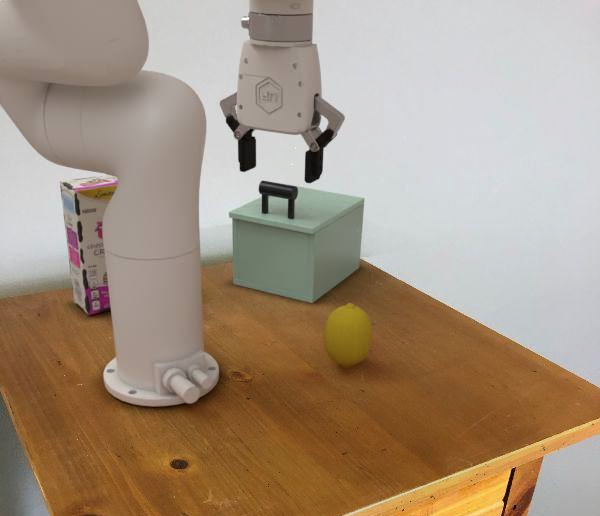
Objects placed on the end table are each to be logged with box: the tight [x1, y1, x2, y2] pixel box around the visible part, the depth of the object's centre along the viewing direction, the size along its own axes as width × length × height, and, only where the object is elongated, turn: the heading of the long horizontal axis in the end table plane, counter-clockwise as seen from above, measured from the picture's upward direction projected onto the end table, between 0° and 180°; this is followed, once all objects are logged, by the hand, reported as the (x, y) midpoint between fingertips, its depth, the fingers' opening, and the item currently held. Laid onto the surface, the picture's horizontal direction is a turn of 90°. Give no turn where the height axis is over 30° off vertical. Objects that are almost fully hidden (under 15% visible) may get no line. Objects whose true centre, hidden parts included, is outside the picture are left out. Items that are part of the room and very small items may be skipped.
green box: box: [231, 203, 365, 304], centre depth 108 cm, size 16×13×10 cm
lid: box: [228, 180, 365, 234], centre depth 104 cm, size 17×13×5 cm
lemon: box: [323, 302, 373, 369], centre depth 85 cm, size 6×6×8 cm
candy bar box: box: [59, 174, 118, 316], centre depth 97 cm, size 11×5×16 cm, turn 128°
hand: (279, 175), depth 98 cm, fingers open, 9 cm apart
